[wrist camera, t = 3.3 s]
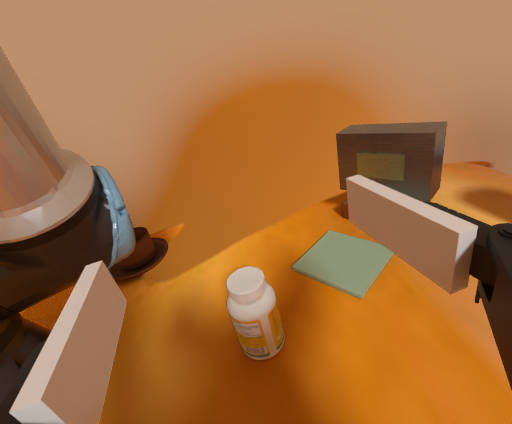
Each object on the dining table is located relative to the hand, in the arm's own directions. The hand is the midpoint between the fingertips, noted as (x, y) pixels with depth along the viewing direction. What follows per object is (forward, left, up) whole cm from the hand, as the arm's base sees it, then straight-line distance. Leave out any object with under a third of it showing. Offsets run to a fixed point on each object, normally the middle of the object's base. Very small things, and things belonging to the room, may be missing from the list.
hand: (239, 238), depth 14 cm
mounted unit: (-6, +35, -20) cm, 41 cm away
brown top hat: (-40, +3, -21) cm, 45 cm away
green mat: (-7, +22, -20) cm, 30 cm away
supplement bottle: (-8, +5, -20) cm, 23 cm away
